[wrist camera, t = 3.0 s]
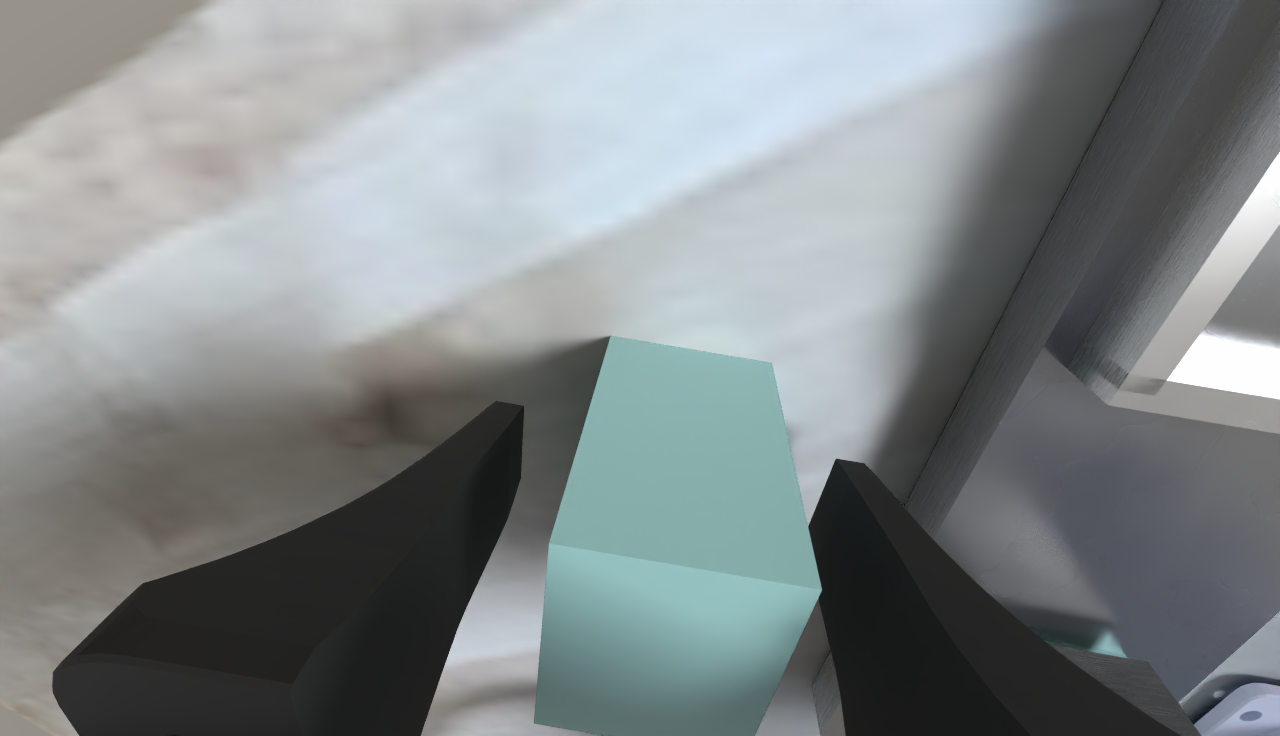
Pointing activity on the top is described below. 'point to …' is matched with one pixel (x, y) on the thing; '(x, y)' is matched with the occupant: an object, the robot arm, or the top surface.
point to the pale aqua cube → (675, 551)
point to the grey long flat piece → (1136, 384)
